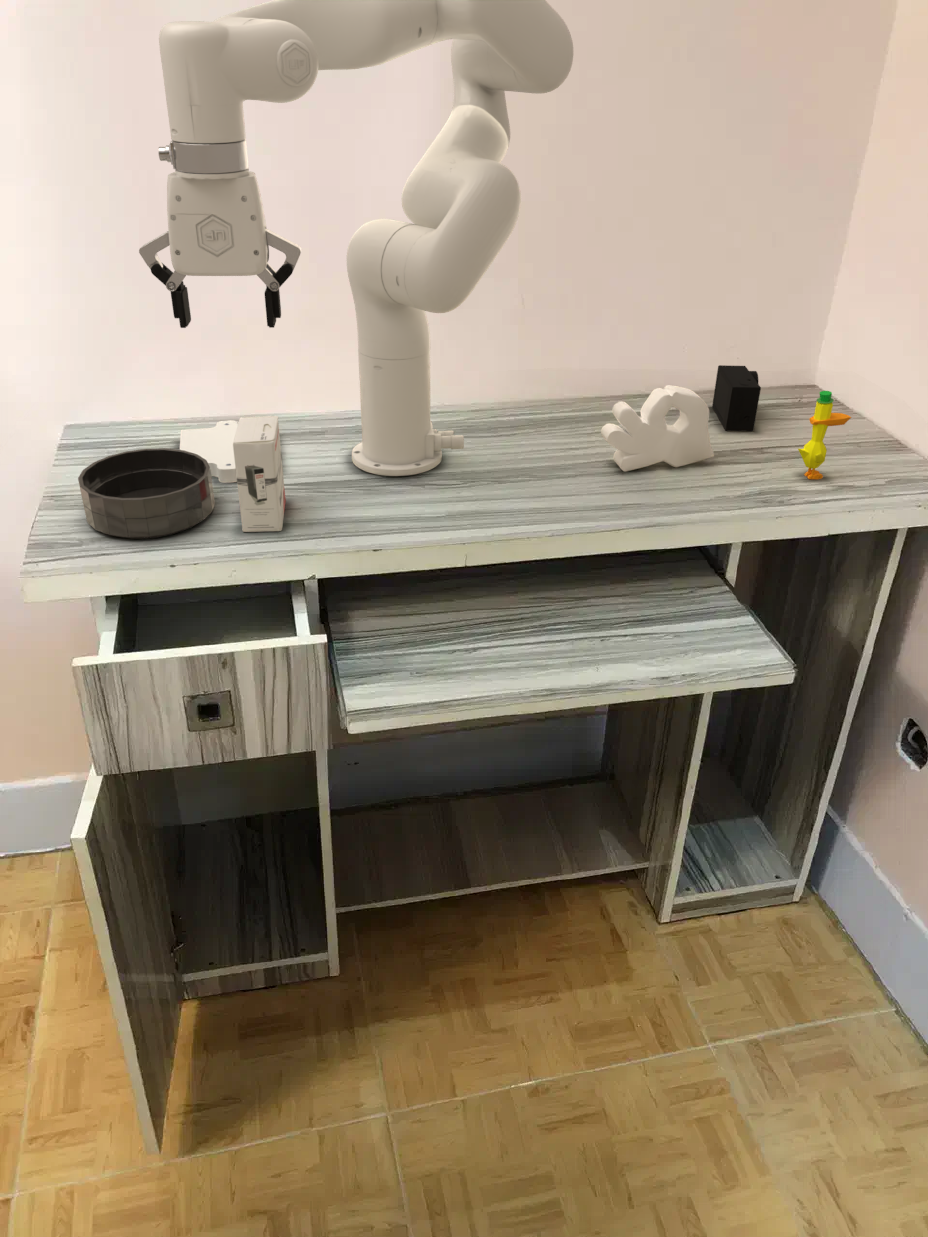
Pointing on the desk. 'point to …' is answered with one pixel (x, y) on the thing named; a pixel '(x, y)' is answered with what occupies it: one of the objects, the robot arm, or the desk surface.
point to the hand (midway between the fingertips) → (229, 324)
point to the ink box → (259, 473)
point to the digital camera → (736, 397)
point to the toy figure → (820, 434)
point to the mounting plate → (214, 448)
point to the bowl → (147, 493)
